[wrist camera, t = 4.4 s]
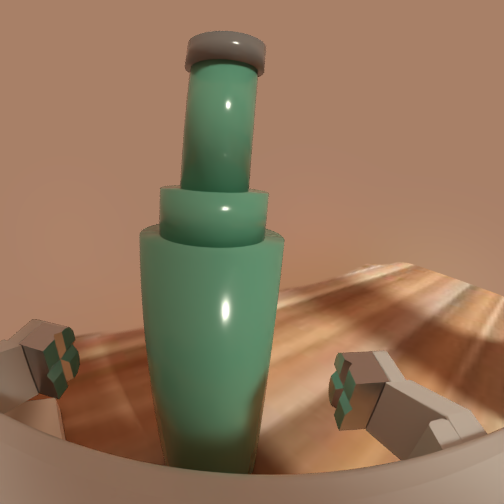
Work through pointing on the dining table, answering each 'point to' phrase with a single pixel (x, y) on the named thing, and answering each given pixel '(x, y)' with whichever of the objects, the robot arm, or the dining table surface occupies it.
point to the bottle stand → (40, 416)
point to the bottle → (212, 270)
